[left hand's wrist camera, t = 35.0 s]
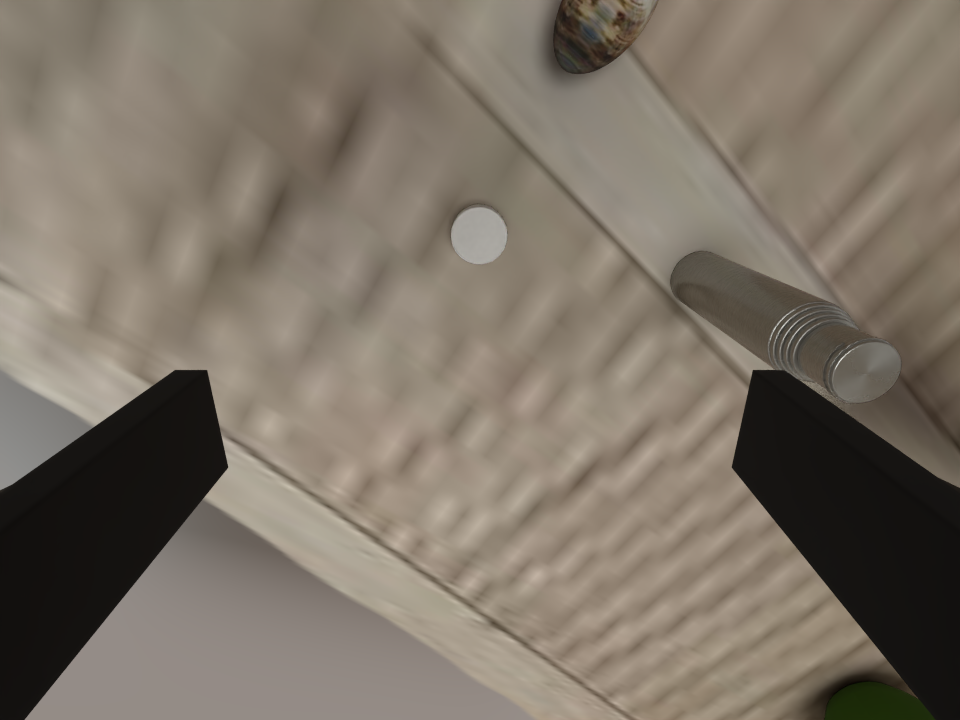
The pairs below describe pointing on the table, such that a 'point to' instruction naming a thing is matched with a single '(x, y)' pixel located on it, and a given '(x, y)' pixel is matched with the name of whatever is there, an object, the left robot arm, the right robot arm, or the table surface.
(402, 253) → the table surface
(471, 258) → the cap
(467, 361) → the table surface
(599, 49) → the seashell
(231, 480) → the table surface
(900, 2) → the table surface
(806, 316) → the bottle
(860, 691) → the vase
